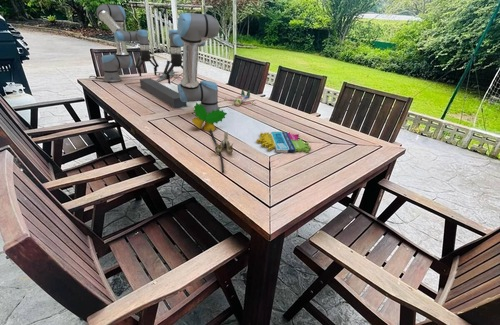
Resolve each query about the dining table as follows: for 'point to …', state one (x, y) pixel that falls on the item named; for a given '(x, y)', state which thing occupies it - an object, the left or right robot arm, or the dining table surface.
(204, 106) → the right robot arm
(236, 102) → the toy
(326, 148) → the dining table surface
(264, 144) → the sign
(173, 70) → the airplane
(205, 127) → the ornament
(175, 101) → the wide beam
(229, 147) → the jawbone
